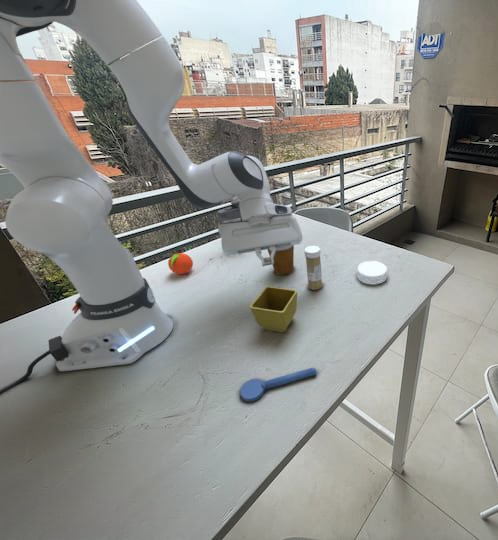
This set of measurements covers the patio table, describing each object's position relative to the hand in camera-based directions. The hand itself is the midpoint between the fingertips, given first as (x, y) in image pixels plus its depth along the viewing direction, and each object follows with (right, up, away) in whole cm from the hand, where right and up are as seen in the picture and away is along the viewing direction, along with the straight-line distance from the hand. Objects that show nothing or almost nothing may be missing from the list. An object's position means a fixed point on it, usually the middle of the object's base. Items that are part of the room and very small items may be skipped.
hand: (268, 264), depth 74 cm
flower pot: (+3, -16, +1) cm, 16 cm away
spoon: (+6, -26, -14) cm, 30 cm away
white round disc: (+28, -4, +21) cm, 35 cm away
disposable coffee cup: (-2, -1, +24) cm, 24 cm away
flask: (-22, +9, +39) cm, 45 cm away
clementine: (-35, -3, +21) cm, 41 cm away
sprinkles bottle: (+10, -7, +16) cm, 20 cm away
